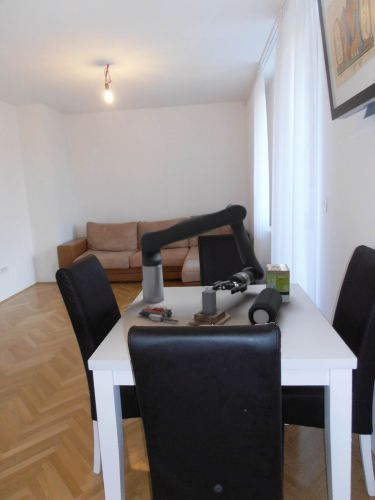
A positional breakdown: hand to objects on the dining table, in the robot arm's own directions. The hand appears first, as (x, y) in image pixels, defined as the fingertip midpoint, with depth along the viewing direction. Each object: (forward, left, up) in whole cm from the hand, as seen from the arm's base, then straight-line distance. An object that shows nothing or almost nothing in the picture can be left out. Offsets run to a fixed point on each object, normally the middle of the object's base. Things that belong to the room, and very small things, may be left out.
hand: (222, 290), depth 147 cm
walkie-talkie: (-20, -16, -10) cm, 28 cm away
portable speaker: (+19, 0, -10) cm, 21 cm away
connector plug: (0, -11, -8) cm, 14 cm away
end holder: (0, -11, -9) cm, 15 cm away
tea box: (+14, +28, -10) cm, 33 cm away
